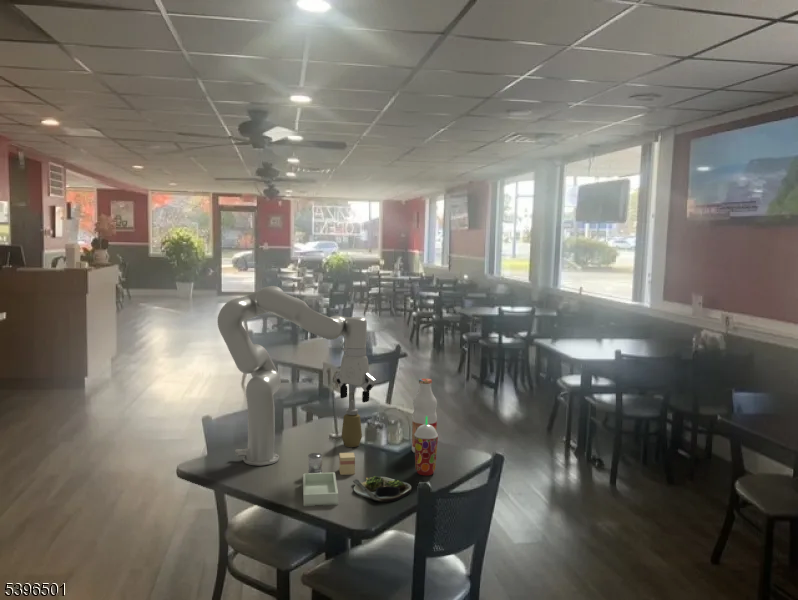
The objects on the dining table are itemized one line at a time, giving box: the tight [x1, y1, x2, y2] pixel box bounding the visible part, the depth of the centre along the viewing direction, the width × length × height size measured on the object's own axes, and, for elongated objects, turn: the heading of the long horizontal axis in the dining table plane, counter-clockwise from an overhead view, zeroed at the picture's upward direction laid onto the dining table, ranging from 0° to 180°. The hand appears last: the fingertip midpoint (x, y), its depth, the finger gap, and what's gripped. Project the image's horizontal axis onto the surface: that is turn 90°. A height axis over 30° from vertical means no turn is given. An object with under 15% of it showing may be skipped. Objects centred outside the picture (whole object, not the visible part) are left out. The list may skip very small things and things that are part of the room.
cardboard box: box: [338, 452, 356, 476], centre depth 224 cm, size 5×5×6 cm
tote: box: [302, 471, 339, 507], centre depth 204 cm, size 10×18×4 cm, turn 9°
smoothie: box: [414, 416, 439, 477], centre depth 224 cm, size 8×8×20 cm
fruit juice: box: [411, 378, 438, 454], centre depth 246 cm, size 9×9×28 cm
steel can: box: [308, 452, 323, 473], centre depth 220 cm, size 5×5×7 cm
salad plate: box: [352, 475, 413, 503], centre depth 208 cm, size 19×18×5 cm
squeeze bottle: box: [341, 399, 363, 448], centre depth 252 cm, size 8×8×18 cm
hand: (354, 399), depth 229 cm, fingers open, 9 cm apart
